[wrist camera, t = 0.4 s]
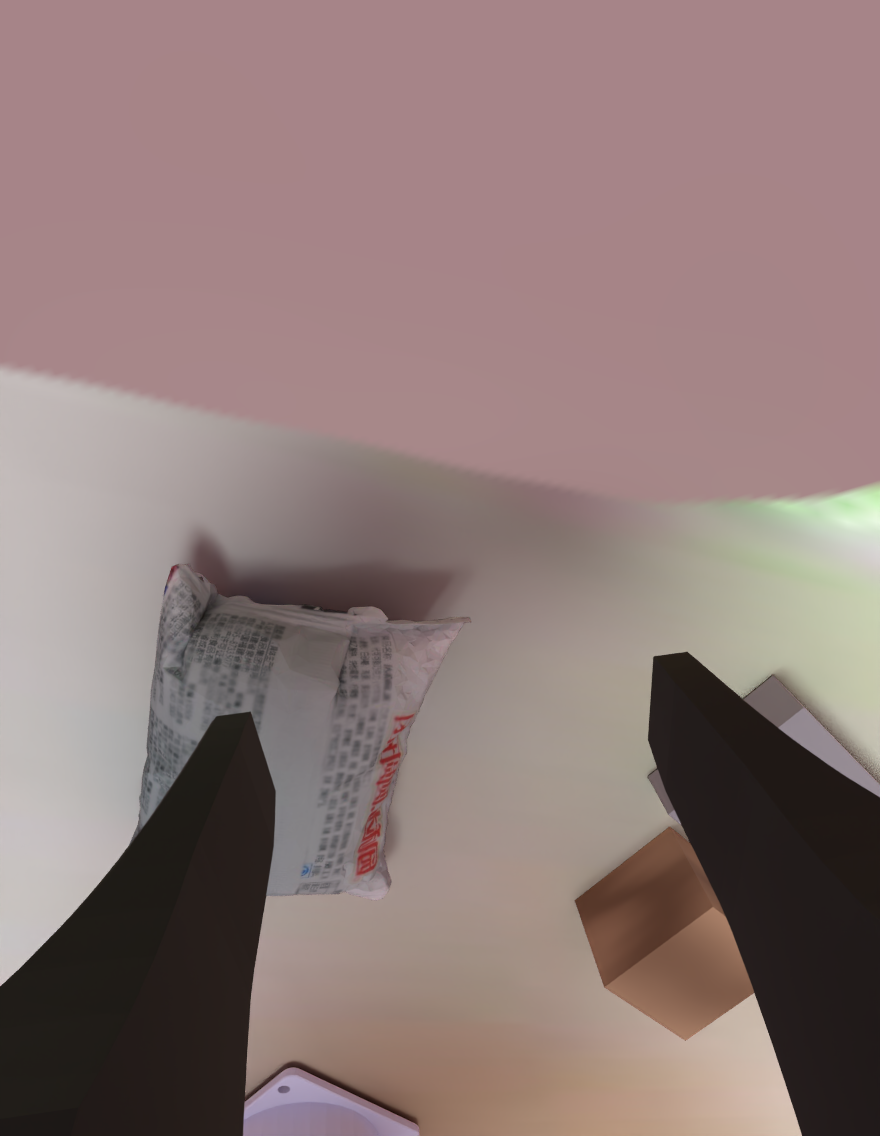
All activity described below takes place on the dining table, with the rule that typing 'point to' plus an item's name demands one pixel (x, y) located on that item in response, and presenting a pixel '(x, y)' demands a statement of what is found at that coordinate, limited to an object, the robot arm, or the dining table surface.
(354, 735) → the packaged food
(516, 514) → the dining table surface
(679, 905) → the wooden cube block
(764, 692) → the purple-grey c-shaped block
